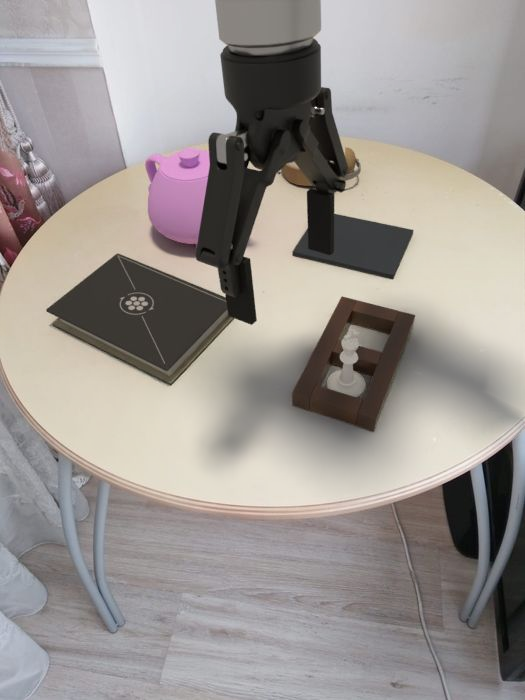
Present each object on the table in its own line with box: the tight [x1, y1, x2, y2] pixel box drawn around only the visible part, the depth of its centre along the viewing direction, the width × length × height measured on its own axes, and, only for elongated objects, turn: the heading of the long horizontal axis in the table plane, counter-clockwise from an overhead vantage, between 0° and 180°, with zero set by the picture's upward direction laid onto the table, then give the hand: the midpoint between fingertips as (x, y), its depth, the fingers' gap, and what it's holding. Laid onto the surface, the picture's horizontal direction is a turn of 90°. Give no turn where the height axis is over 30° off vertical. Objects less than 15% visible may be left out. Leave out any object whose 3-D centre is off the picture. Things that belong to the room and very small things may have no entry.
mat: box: [292, 213, 414, 280], centre depth 89 cm, size 16×12×1 cm
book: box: [45, 253, 235, 386], centre depth 78 cm, size 22×15×3 cm
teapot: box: [144, 147, 210, 249], centre depth 88 cm, size 22×16×14 cm
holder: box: [291, 295, 416, 433], centre depth 71 cm, size 10×18×2 cm, turn 156°
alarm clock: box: [282, 146, 362, 187], centre depth 102 cm, size 11×5×15 cm
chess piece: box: [325, 328, 367, 399], centre depth 66 cm, size 5×5×10 cm
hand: (284, 282), depth 55 cm, fingers open, 13 cm apart
